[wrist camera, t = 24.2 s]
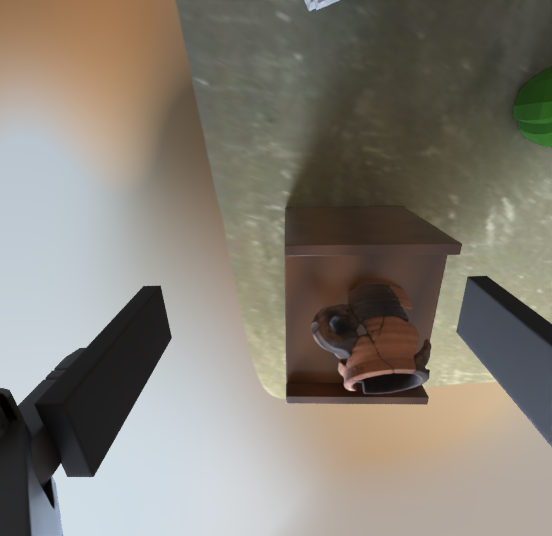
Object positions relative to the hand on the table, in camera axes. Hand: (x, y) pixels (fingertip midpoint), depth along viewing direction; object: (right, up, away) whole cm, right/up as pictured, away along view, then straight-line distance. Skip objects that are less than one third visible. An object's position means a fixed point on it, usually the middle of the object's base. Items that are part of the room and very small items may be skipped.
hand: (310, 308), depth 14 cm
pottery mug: (+7, -4, +19) cm, 20 cm away
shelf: (+7, +1, +31) cm, 32 cm away
